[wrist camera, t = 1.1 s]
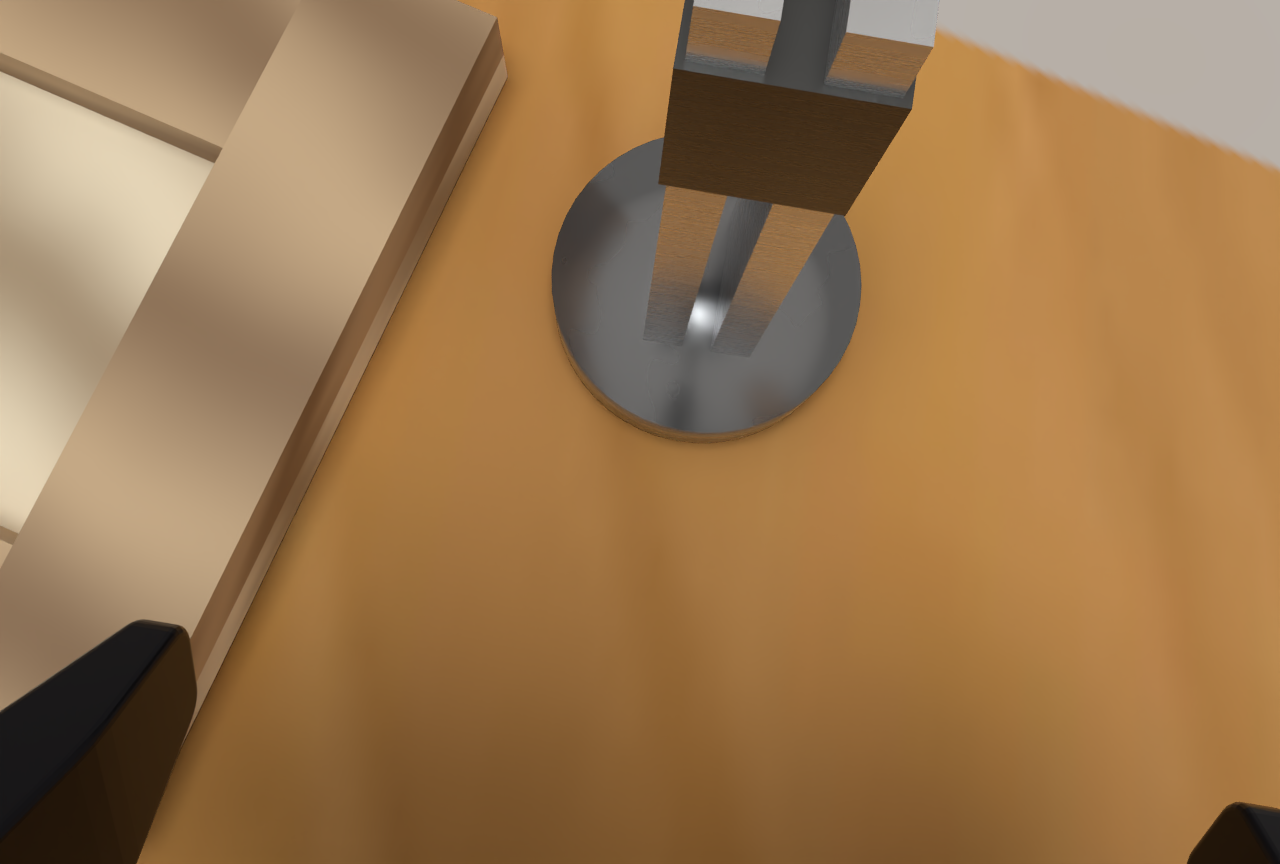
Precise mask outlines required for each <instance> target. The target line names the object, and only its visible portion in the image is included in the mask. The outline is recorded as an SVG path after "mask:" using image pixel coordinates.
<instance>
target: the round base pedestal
mask: <svg viewBox="0 0 1280 864" xmlns="http://www.w3.org/2000/svg"><path fill="white" fill-rule="evenodd" d="M938 8H939V0H685V3H684V9H683V15H682V21H681V27H680V32H679V38H678V44H677V50H676V56H675V62H674V67H673V75H672V82H671V90H670V98H669V105H668V113H667V120H666V128H665V135H664V138H660V139H656V140H653V141H650V142H648V143H645V144H643V145H641V146H638V147H636V148H634V149H632V150H630V151H628V152H627V153H625V154H623V155H621V156H620V157H618V158H616V159H615V160H614V161H612V162H611V163H610V164H608V165H607V166H606V167H605V168H603V169H602V170H601V171H600V172H599V173H598V174H597V175H596V176H595V177H594V178H593V179H592V180H591V181H590V182H589V183H588V184H587V185H586V186H585V188H584V189H583V190H582V192H581V193H580V194H579V196H578V197H577V198H576V200H575V201H574V203H573V205H572V207H571V208H570V210H569V212H568V213H567V215H566V217H565V220H564V222H563V225H562V227H561V230H560V232H559V235H558V239H557V243H556V247H555V251H554V256H553V265H552V295H553V301H554V307H555V314H556V320H557V326H558V331H559V335H560V338H561V341H562V345H563V348H564V350H565V352H566V355H567V357H568V359H569V361H570V363H571V366H572V367H573V369H574V370H575V372H576V374H577V375H578V377H579V378H580V380H581V381H582V383H583V384H584V385H585V386H586V388H587V389H588V390H589V391H590V392H591V394H592V395H593V396H594V397H595V398H596V399H597V400H598V401H599V402H600V403H601V404H603V405H604V406H605V407H606V408H607V409H608V410H609V411H611V412H612V413H614V414H615V415H616V416H618V417H619V418H621V419H622V420H623V421H625V422H627V423H629V424H631V425H633V426H635V427H637V428H638V429H640V430H643V431H645V432H648V433H651V434H653V435H656V436H659V437H663V438H667V439H671V440H676V441H683V442H692V443H715V442H722V441H729V440H735V439H739V438H742V437H745V436H749V435H752V434H755V433H757V432H759V431H762V430H764V429H766V428H768V427H771V426H772V425H774V424H776V423H777V422H779V421H781V420H782V419H784V418H785V417H787V416H788V415H790V414H791V413H792V412H793V411H794V410H796V409H797V408H798V407H799V406H801V405H802V404H803V403H804V402H805V401H806V400H807V399H808V398H809V397H810V396H811V395H812V394H813V393H814V392H815V391H816V390H817V389H818V388H819V386H820V385H821V384H822V383H823V382H824V381H825V380H826V379H827V378H828V377H829V376H830V374H831V373H832V371H833V370H834V368H835V367H836V366H837V364H838V363H839V361H840V360H841V358H842V356H843V354H844V352H845V350H846V348H847V346H848V344H849V342H850V340H851V337H852V334H853V331H854V328H855V325H856V322H857V317H858V312H859V307H860V297H861V273H860V263H859V258H858V253H857V249H856V245H855V242H854V239H853V236H852V233H851V230H850V228H849V226H848V224H847V222H846V220H845V218H844V216H845V215H846V214H847V212H848V211H849V209H850V207H851V206H852V204H853V203H854V201H855V199H856V198H857V196H858V195H859V193H860V191H861V190H862V188H863V187H864V185H865V183H866V182H867V180H868V179H869V177H870V175H871V174H872V172H873V170H874V169H875V167H876V166H877V164H878V162H879V161H880V159H881V158H882V156H883V154H884V153H885V151H886V150H887V148H888V146H889V145H890V143H891V142H892V140H893V138H894V137H895V135H896V134H897V132H898V130H899V129H900V127H901V126H902V124H903V122H904V121H905V119H906V118H907V116H908V114H909V113H910V111H911V110H912V104H913V97H914V89H915V81H916V76H917V74H918V72H919V71H920V69H921V67H922V65H923V64H924V62H925V60H926V59H927V57H928V55H929V54H930V52H931V50H932V49H933V47H934V39H935V31H936V23H937V16H938Z"/></svg>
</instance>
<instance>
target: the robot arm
mask: <svg viewBox="0 0 1280 864" xmlns="http://www.w3.org/2000/svg"><path fill="white" fill-rule="evenodd" d="M196 701H197V682H196V676H195V669H194V662H193V655H192V648H191V642H190V637H189V634H188V632H187V630H186V629H185V628H184V627H183V626H180V625H177V624H171V623H165V622H159V621H153V620H146V619H140V620H136V621H134V622H131V623H129V624H127V625H126V626H124V627H123V628H121V629H120V630H118V631H117V632H115V633H114V634H112V635H111V636H110V637H108V638H107V639H105V640H104V641H102V642H101V643H99V644H98V645H96V646H95V647H93V648H92V649H90V650H89V651H88V652H86V653H85V654H83V655H82V656H80V657H79V658H77V659H76V660H74V661H73V662H71V663H70V664H68V665H67V666H65V667H64V668H63V669H61V670H60V671H58V672H57V673H55V674H54V675H52V676H51V677H49V678H48V679H46V680H45V681H43V682H42V683H41V684H39V685H38V686H36V687H35V688H33V689H32V690H30V691H29V692H27V693H26V694H24V695H23V696H21V697H20V698H18V699H17V700H16V701H14V702H13V703H11V704H10V705H8V706H7V707H5V708H4V709H2V710H1V711H0V864H136V863H137V861H138V859H139V856H140V854H141V851H142V848H143V846H144V843H145V840H146V838H147V835H148V833H149V830H150V827H151V825H152V822H153V820H154V817H155V814H156V812H157V809H158V806H159V804H160V801H161V799H162V796H163V793H164V791H165V788H166V786H167V783H168V780H169V778H170V775H171V772H172V770H173V767H174V765H175V762H176V759H177V757H178V754H179V752H180V749H181V746H182V744H183V741H184V738H185V736H186V733H187V731H188V728H189V725H190V723H191V720H192V717H193V714H194V711H195V707H196ZM1187 864H1280V809H1277V808H1273V807H1267V806H1261V805H1255V804H1249V803H1244V802H1235V803H1233V804H1230V805H1228V806H1227V807H1226V808H1225V809H1224V810H1223V811H1222V812H1221V813H1220V815H1219V816H1218V817H1217V819H1216V820H1215V821H1214V823H1213V824H1212V825H1211V827H1210V828H1209V829H1208V831H1207V832H1206V833H1205V835H1204V836H1203V837H1202V839H1201V840H1200V841H1199V843H1198V844H1197V845H1196V847H1195V848H1194V849H1193V851H1192V852H1191V854H1190V856H1189V859H1188V862H1187Z"/></svg>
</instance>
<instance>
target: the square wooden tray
mask: <svg viewBox="0 0 1280 864" xmlns="http://www.w3.org/2000/svg"><path fill="white" fill-rule="evenodd" d="M507 77H508V75H507V70H506V64H505V59H504V53H503V47H502V42H501V36H500V31H499V25H498V20H497V17H495V16H493V15H490V14H488V13H485V12H483V11H481V10H478V9H476V8H474V7H471V6H469V5H466V4H464V3H462V2H459V1H457V0H0V711H1V710H2V709H4V708H5V707H7V706H8V705H10V704H11V703H13V702H14V701H16V700H17V699H18V698H20V697H21V696H23V695H24V694H26V693H27V692H29V691H30V690H32V689H33V688H35V687H36V686H38V685H39V684H41V683H42V682H43V681H45V680H46V679H48V678H49V677H51V676H52V675H54V674H55V673H57V672H58V671H60V670H61V669H63V668H64V667H65V666H67V665H68V664H70V663H71V662H73V661H74V660H76V659H77V658H79V657H80V656H82V655H83V654H85V653H86V652H88V651H89V650H90V649H92V648H93V647H95V646H96V645H98V644H99V643H101V642H102V641H104V640H105V639H107V638H108V637H110V636H111V635H112V634H114V633H115V632H117V631H118V630H120V629H121V628H123V627H124V626H126V625H127V624H129V623H131V622H134V621H136V620H140V619H146V620H153V621H159V622H165V623H171V624H177V625H180V626H183V627H184V628H185V629H186V630H187V632H188V634H189V637H190V642H191V648H192V655H193V662H194V669H195V676H196V682H197V701H196V707H195V711H194V714H193V717H192V720H191V723H190V725H189V728H188V731H187V733H186V736H187V734H188V732H189V730H190V728H191V726H192V724H193V722H194V720H195V718H196V716H197V714H198V712H199V710H200V708H201V706H202V704H203V702H204V699H205V697H206V695H207V693H208V691H209V689H210V687H211V685H212V683H213V681H214V679H215V677H216V675H217V673H218V671H219V669H220V667H221V665H222V663H223V660H224V658H225V656H226V654H227V652H228V650H229V648H230V646H231V644H232V642H233V640H234V638H235V636H236V634H237V632H238V630H239V628H240V626H241V623H242V621H243V619H244V617H245V615H246V613H247V611H248V609H249V607H250V605H251V603H252V601H253V599H254V597H255V595H256V593H257V591H258V589H259V587H260V584H261V582H262V580H263V578H264V576H265V574H266V572H267V570H268V568H269V566H270V564H271V562H272V560H273V558H274V556H275V554H276V552H277V550H278V547H279V545H280V543H281V541H282V539H283V537H284V535H285V533H286V531H287V529H288V527H289V525H290V523H291V521H292V519H293V517H294V515H295V513H296V511H297V508H298V506H299V504H300V502H301V500H302V498H303V496H304V494H305V492H306V490H307V488H308V486H309V484H310V482H311V480H312V478H313V476H314V474H315V471H316V469H317V467H318V465H319V463H320V461H321V459H322V457H323V455H324V453H325V451H326V449H327V447H328V445H329V443H330V441H331V439H332V437H333V435H334V432H335V430H336V428H337V426H338V424H339V422H340V420H341V418H342V416H343V414H344V412H345V410H346V408H347V406H348V404H349V402H350V400H351V398H352V395H353V393H354V391H355V389H356V387H357V385H358V383H359V381H360V379H361V377H362V375H363V373H364V371H365V369H366V367H367V365H368V363H369V361H370V358H371V356H372V354H373V352H374V350H375V348H376V346H377V344H378V342H379V340H380V338H381V336H382V334H383V332H384V330H385V328H386V326H387V324H388V322H389V319H390V317H391V315H392V313H393V311H394V309H395V307H396V305H397V303H398V301H399V299H400V297H401V295H402V293H403V291H404V289H405V287H406V285H407V282H408V280H409V278H410V276H411V274H412V272H413V270H414V268H415V266H416V264H417V262H418V260H419V258H420V256H421V254H422V252H423V250H424V248H425V246H426V243H427V241H428V239H429V237H430V235H431V233H432V231H433V229H434V227H435V225H436V223H437V221H438V219H439V217H440V215H441V213H442V211H443V209H444V206H445V204H446V202H447V200H448V198H449V196H450V194H451V192H452V190H453V188H454V186H455V184H456V182H457V180H458V178H459V176H460V174H461V172H462V170H463V167H464V165H465V163H466V161H467V159H468V157H469V155H470V153H471V151H472V149H473V147H474V145H475V143H476V141H477V139H478V137H479V135H480V133H481V130H482V128H483V126H484V124H485V122H486V120H487V118H488V116H489V114H490V112H491V110H492V108H493V106H494V104H495V102H496V100H497V98H498V96H499V94H500V91H501V89H502V87H503V85H504V83H505V81H506V79H507ZM186 736H185V738H184V741H185V739H186ZM184 741H183V743H184ZM182 745H183V744H182ZM181 747H182V746H181Z"/></svg>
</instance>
